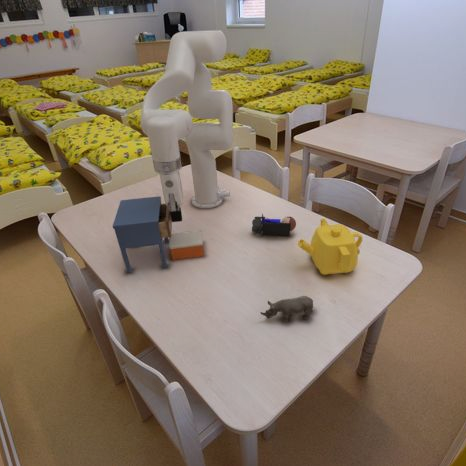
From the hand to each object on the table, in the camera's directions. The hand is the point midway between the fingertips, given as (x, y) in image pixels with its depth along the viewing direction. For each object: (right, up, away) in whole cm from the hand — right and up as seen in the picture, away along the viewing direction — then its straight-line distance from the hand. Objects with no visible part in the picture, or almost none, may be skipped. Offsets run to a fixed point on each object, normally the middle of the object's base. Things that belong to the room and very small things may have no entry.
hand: (177, 220), depth 103 cm
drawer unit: (-10, -11, +6) cm, 16 cm away
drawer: (-7, -2, +1) cm, 7 cm away
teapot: (+45, -13, -2) cm, 47 cm away
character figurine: (+31, -4, +13) cm, 34 cm away
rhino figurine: (+31, -25, -18) cm, 44 cm away
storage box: (+2, -10, +7) cm, 12 cm away
